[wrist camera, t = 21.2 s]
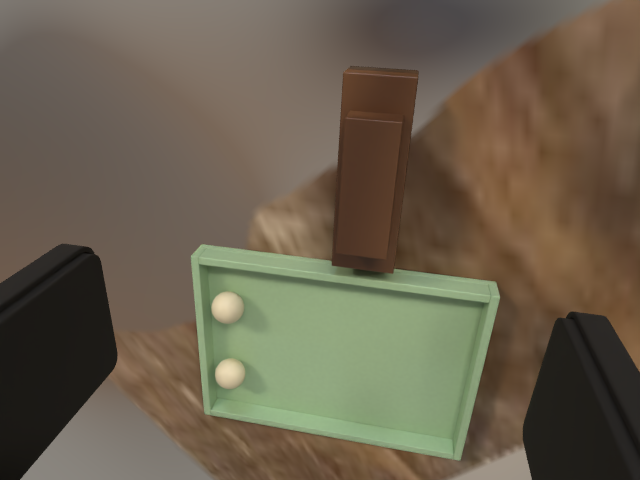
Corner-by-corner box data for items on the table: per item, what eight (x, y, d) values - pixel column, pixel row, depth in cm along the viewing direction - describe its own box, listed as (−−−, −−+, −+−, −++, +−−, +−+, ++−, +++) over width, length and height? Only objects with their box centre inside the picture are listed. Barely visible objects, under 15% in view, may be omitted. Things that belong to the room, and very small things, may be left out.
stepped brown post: (418, 70, 28) (417, 82, 24) (395, 253, 34) (391, 290, 29) (350, 65, 29) (337, 76, 24) (338, 245, 34) (325, 281, 30)
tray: (496, 281, 33) (500, 297, 31) (458, 441, 40) (460, 461, 38) (201, 243, 36) (190, 256, 34) (213, 397, 43) (204, 414, 41)
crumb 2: (244, 371, 37) (212, 371, 37) (244, 395, 38) (213, 395, 38) (246, 352, 40) (216, 352, 39) (246, 375, 41) (217, 375, 40)
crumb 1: (246, 298, 35) (212, 294, 35) (241, 330, 35) (208, 326, 35) (246, 289, 37) (214, 285, 37) (241, 319, 38) (210, 316, 37)
